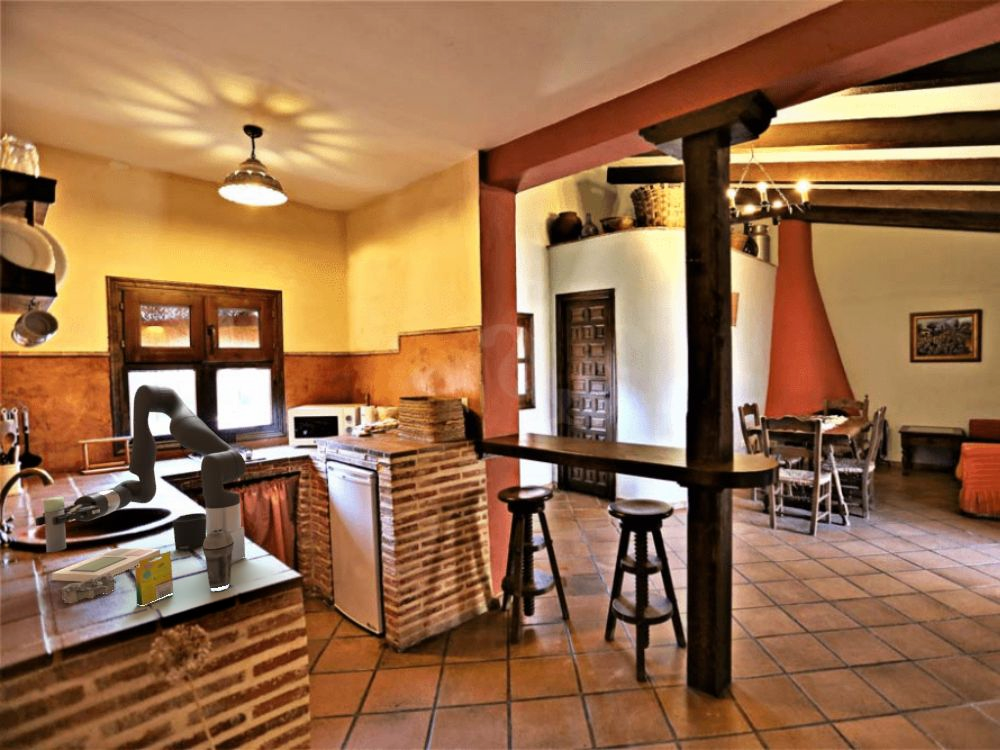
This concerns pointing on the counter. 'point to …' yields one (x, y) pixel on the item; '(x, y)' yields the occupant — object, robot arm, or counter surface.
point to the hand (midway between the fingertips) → (45, 521)
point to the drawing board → (105, 564)
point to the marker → (54, 532)
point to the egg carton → (88, 588)
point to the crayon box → (153, 578)
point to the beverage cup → (218, 556)
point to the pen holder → (190, 531)
